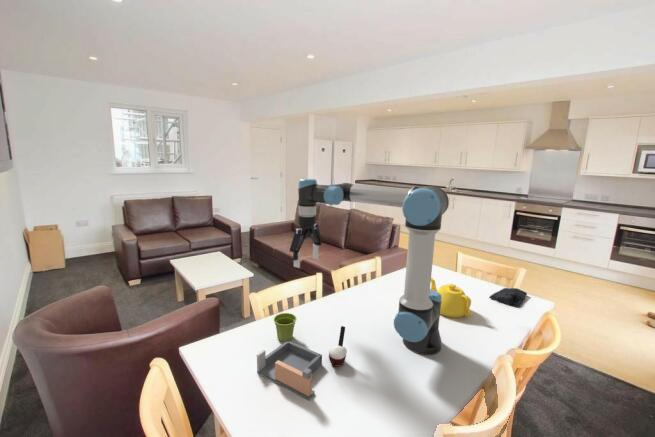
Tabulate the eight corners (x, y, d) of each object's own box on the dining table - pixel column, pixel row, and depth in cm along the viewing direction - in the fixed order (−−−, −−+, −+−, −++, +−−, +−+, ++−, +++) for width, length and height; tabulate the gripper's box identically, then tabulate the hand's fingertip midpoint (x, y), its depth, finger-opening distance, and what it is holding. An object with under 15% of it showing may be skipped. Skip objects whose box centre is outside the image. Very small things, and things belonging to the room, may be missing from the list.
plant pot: (300, 334, 132) (300, 315, 131) (290, 346, 123) (290, 326, 122) (280, 329, 135) (280, 311, 133) (269, 341, 126) (269, 322, 125)
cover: (312, 393, 98) (312, 370, 96) (308, 397, 96) (308, 374, 95) (278, 375, 105) (278, 354, 104) (274, 379, 104) (274, 357, 102)
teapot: (415, 303, 163) (418, 279, 160) (437, 296, 172) (440, 272, 170) (458, 325, 142) (462, 297, 140) (480, 315, 152) (484, 289, 149)
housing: (335, 371, 110) (336, 353, 109) (308, 400, 96) (308, 380, 95) (287, 349, 122) (287, 333, 120) (257, 372, 108) (256, 354, 107)
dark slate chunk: (531, 298, 174) (533, 290, 173) (517, 309, 160) (519, 301, 159) (502, 288, 185) (503, 281, 184) (486, 299, 171) (487, 291, 170)
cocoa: (334, 373, 110) (335, 343, 107) (322, 363, 114) (323, 334, 111) (353, 360, 116) (354, 332, 113) (340, 352, 120) (341, 324, 117)
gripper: (316, 210, 145) (316, 254, 150) (280, 218, 125) (281, 268, 129) (330, 212, 141) (329, 257, 146) (295, 221, 121) (295, 272, 125)
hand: (306, 262), depth 137 cm, fingers open, 13 cm apart
